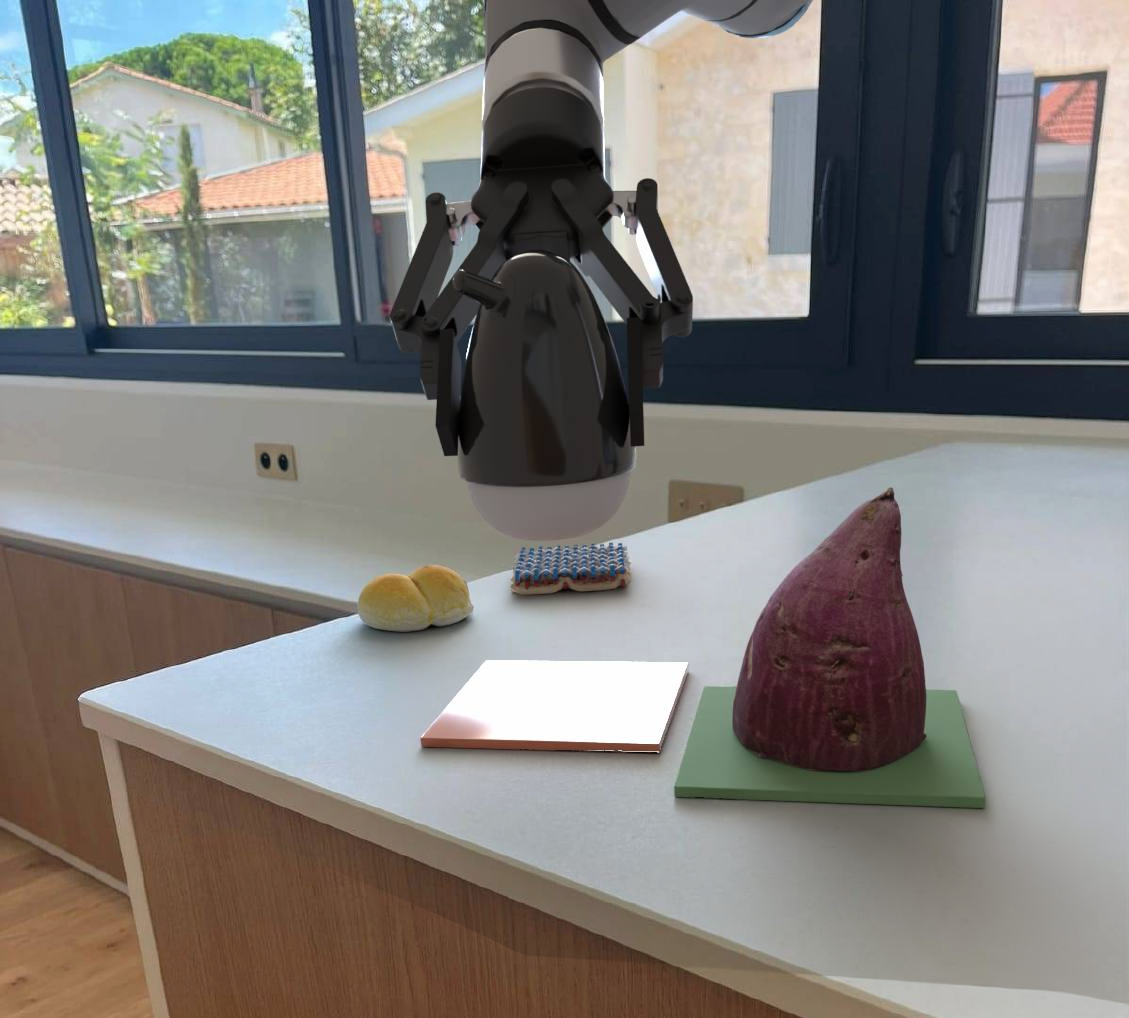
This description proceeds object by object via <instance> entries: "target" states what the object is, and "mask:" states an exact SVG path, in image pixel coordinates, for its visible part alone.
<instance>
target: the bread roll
mask: <svg viewBox="0 0 1129 1018" xmlns="http://www.w3.org/2000/svg"><path fill="white" fill-rule="evenodd" d="M356 607H357V614H358V616H359V618H360V620H361V621H362V623H363V624H365V625H366V626H368V627H370V628H373V629H375V630H383V631H389V632H390V631H392V632H399V633H400V632H402V633H407V632H414V631H416V632H417V631H418V632H419V631H423V630H426V629H427V628H428V627H430V626H431V625H432V626H435V627H445V626H449V625H453V624H456V623H459V622H460V621H462V620H464V619H466V618H467V617H469V616H470V615H471V614H472V613H473V612H474V607H475V606H474V604H472V602H471V598H470V590H469V586H468V583H467V581H465V579H463V578H462V577H461V576H460V574H458V573H457V572H456V571H454V570H453V569H451V568H448V567H446V566H442V565H437V564H436V565H435V564H428V565H423V566H421V567H418V568H417V569H416V570H414V571H412V572H411V573H410V574H408V575H405V574H400V573H395V572H394V573H384V574H381V575H379V576H376V577H374V578H373V579H372V580H370V581H369V582H367V584H366V585H365V586H364V587H363V588H362V590H361V592H360V594H359V597H358V601H357V606H356Z"/></svg>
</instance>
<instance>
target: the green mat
mask: <svg viewBox="0 0 1129 1018" xmlns="http://www.w3.org/2000/svg"><path fill="white" fill-rule="evenodd" d="M736 688H737V686H716V685H715V686H710V685H705V686H703V690H702V692H701V696H700V700H699V704H698V707H697V710H696V713H695V716H694V720H693V723H692V727H691V730H690V733H689V736H688V740H687V743H686V747H685V750H684V753H683V756H682V759H681V763H680V767H679V769H678V774H677V776H676V780H675V782H674V786H673V790H674V791H673V793H674V795H673V796H674V798H691V799H692V798H695V797H704V798H703V799H719V798H722V800H723V799H724V800H747V801H749V800H750V801H752V800H753V801H774V802H775V801H778V802H779V801H780V802H800V803H801V802H802V803H803V802H805V803H829V804H830V803H832V804H833V803H835V804H856V805H857V804H858V805H859V804H860V805H882V806H883V805H886V806H910V807H911V806H914V807H942V808H966V809H967V808H968V809H985V807H986V795H985V794H986V793H985V792H984V787H983V783H982V781H981V776H980V772H979V769H978V766H977V765H978V764H977V761H976V758H975V754H974V751H973V747H972V742H971V740H970V736H969V732H968V728H967V724H966V721H965V718H964V714H963V711H962V706H961V703H960V699H959V695H958V692H957V690H956V689H926V696H927V700H926V716H925V728H924V733H925V734H926V736H927V737H926V738H925V739H924V740H923V741H922V742H921V745H920V746H919V747H918V748H917V749H915V750H914V751H912V752H910V753H908V754H906V755H904V756H902V757H901V758H899V759H897V760H894V761H893V762H890V763H888V764H886V765H883V766H879V767H876V768H872V769H868V770H863V771H850V772H846V771H842V772H836V771H821V770H810V769H806V768H802V767H797V766H793V765H789V764H787V763H782V762H779V761H776V760H772V759H769V758H762V757H759V754H757V753H755V752H753V751H751V750H749V749H748V748H746V747H745V746H744V745H743V744H741V742H740V740H739V739H738V738H737V737H736V735H735V733H734V731H733V725H732V715H733V701H734V697H735V693H736ZM681 796H682V797H681Z"/></svg>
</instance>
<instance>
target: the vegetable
mask: <svg viewBox="0 0 1129 1018" xmlns="http://www.w3.org/2000/svg"><path fill="white" fill-rule="evenodd" d="M900 510H901V509H900V505H899V503H898V502H897V500H896V498H895V491H894V487H889V488H887V489H886V490H885V491H883V492H881V493H880V494H878V495H877V496H875V497H874V498H871V499H869V500H866V501H864V502H861V504H860V505H859V506H857V508H855V509H854V510H853V511H852V512H851V513H850V514H849V515H848V516H847V517H846V518H845V519H844V520H843V521H842V522H841V523H840V524H839V525H838V526H837V527H836V528H835V529H834V530H833V531H832V532H831V533H830V534H829V535H828V536H827V537H826V538H824V540H822V542H821V543H820V544H819V545H818V546H817V547H816V548H815V549H814V550H812V552H811V553H810V554H808V555H807V556H806V557H804V558H803V559H802V560H800V562H799V563H798V564H796V565H795V566H794V567H793V569H792V570H791V571H790V572H789V573H788V574H787V575H786V576H785V578H784V579H783V580H782V581H781V583H779V585H778V586H777V588H776V589H775V590H774V591H773V593H772V594H771V596H770V597H769V599H768V601H767V602H766V605H765V606H764V607H763V609H762V611H761V612H760V614H759V615H758V618H757V620H756V622H755V625H754V628H753V630H752V632H751V635H750V637H749V639H748V641H747V644H746V648H745V651H744V655H743V658H742V662H741V667H740V671H739V674H738V679H737V684H736V687H737V688H736V693H735V697H734V701H733V715H732V725H733V731H734V733H735V735H736V737H737V738H738V739H739V740H740V742H741V744H743V745H744V746H745V747H746V748H748V749H749V750H751V751H753V752H755V753H757V754H759V757H762V758H769V759H772V760H776V761H779V762H782V763H787V764H789V765H793V766H797V767H802V768H806V769H810V770H821V771H836V772H842V771H846V772H850V771H863V770H868V769H872V768H876V767H879V766H883V765H886V764H888V763H890V762H893V761H894V760H897V759H899V758H901V757H902V756H904V755H906V754H908V753H910V752H912V751H914V750H915V749H917V748H918V747H919V746H920V745H921V742H922V741H923V740H924V739H925V738H926V737H927V736H926V734H925V733H924V728H925V716H926V700H927V696H926V690H927V686H926V674H925V664H924V657H923V652H922V646H921V642H920V636H919V633H918V629H917V626H916V623H915V619H914V617H913V613H912V610H911V607H910V604H909V602H908V599H907V595H906V592H905V588H904V582H903V577H904V574H903V572H902V566H901V565H902V564H901V549H902V548H901V547H902V516H901V511H900Z"/></svg>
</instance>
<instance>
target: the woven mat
mask: <svg viewBox="0 0 1129 1018" xmlns="http://www.w3.org/2000/svg"><path fill="white" fill-rule="evenodd" d="M514 556H515V557H514V564H513V568H512V571H513V572H512V576H511V578H510V579H509V580H510V582H511V583H510V584H509V585H508V588H509V589H510V591H512V592H513V593H516V594H519V595H522V596H527V595H528V596H529V595H543V594H553V593H556V592H558V591H561V590H566V589H567V590H568V589H570V590H573V591H576V592H594V591H596V592H597V591H608V590H613V589H616V588H617V587H619V586H620V587H621V586H622V587H626V586H628V585H629V584H631V582H632V581H633V578H632V577H630V576H631V575H632V572H631V568H630V565H631V562H630V556H629V552H628V546H627V545H624V546H623V543H622V542H620V543H617V546H615V545H614V542H608V546H605V543H600V544H599V546H597V545H596V543H591V545H590V546H588V545H587V544H584V545H583V544H582V548H581V547H579V545H578V544H573V546H572V547H570V546H569V545H566V546H564V548H562V547H561V545H556V547H555V548H553V549H552V546H547V547H546V550H544V546H541V545H540V546H538V550H536V551H535V548H534V547H531V548H529V551H526V547H524V546H523V547H521V550H520V551H519V550H518V552H516V553H514Z"/></svg>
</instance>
